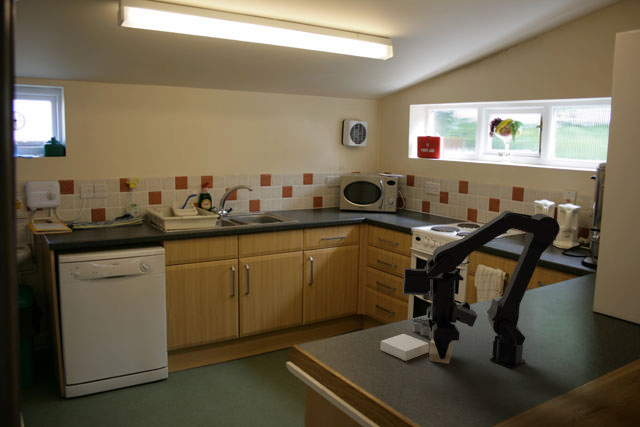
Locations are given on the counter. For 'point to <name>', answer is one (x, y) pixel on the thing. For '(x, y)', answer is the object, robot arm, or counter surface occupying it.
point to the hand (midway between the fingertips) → (440, 353)
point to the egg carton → (421, 327)
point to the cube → (435, 356)
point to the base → (404, 346)
